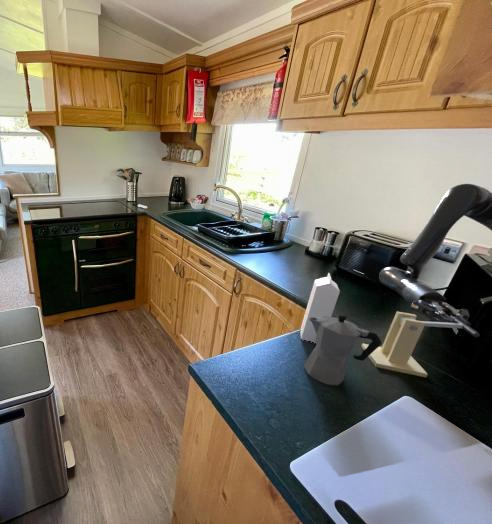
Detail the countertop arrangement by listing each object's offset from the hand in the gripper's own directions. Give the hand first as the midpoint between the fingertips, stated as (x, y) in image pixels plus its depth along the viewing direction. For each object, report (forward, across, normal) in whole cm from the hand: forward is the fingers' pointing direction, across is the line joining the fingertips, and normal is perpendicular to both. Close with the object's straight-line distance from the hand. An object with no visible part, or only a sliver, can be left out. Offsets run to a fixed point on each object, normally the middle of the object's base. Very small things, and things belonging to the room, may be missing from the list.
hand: (459, 325), depth 77 cm
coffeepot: (+15, -32, +14) cm, 38 cm away
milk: (-3, -32, +15) cm, 36 cm away
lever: (+1, -6, +2) cm, 6 cm away
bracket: (+1, -12, +14) cm, 19 cm away
